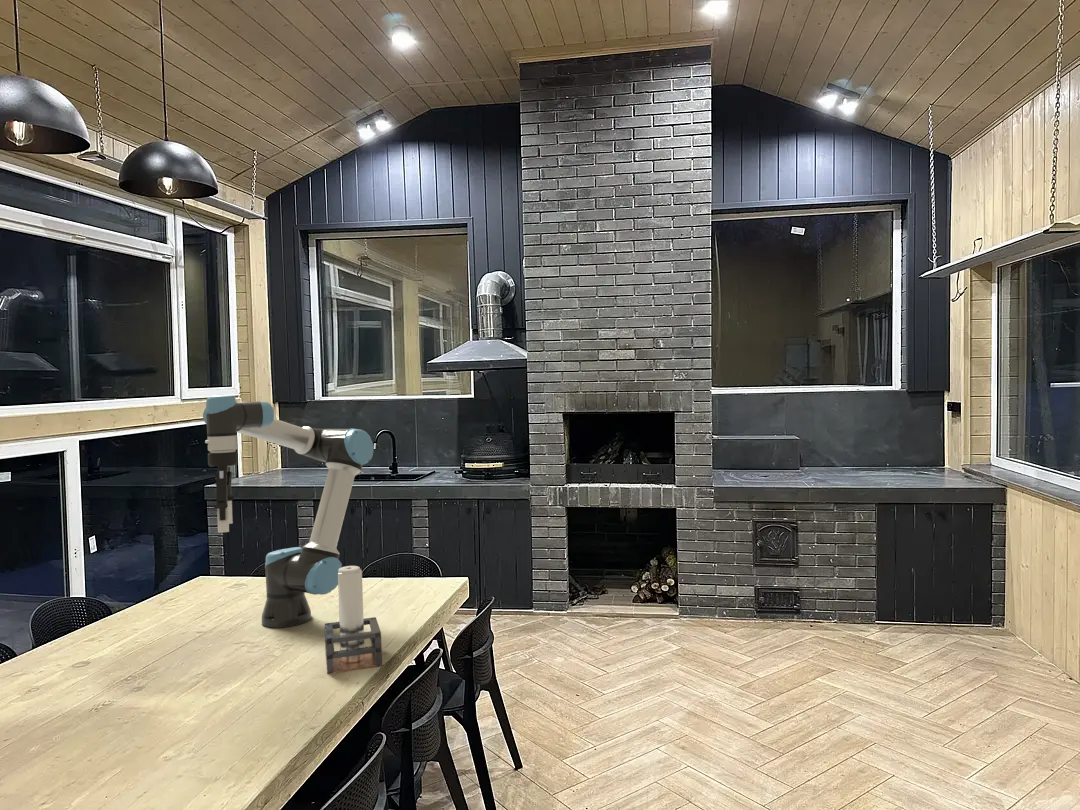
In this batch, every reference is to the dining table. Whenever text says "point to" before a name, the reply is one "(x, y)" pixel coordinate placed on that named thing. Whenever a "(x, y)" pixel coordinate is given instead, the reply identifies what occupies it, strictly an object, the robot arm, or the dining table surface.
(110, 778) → the dining table surface
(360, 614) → the white tall cylinder
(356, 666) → the collar stand
